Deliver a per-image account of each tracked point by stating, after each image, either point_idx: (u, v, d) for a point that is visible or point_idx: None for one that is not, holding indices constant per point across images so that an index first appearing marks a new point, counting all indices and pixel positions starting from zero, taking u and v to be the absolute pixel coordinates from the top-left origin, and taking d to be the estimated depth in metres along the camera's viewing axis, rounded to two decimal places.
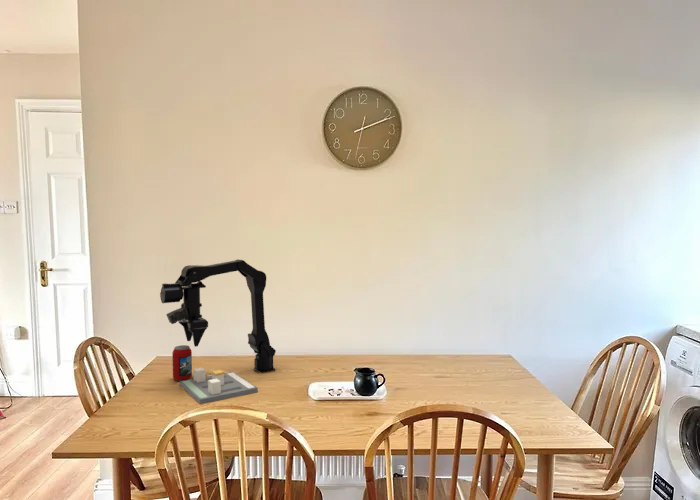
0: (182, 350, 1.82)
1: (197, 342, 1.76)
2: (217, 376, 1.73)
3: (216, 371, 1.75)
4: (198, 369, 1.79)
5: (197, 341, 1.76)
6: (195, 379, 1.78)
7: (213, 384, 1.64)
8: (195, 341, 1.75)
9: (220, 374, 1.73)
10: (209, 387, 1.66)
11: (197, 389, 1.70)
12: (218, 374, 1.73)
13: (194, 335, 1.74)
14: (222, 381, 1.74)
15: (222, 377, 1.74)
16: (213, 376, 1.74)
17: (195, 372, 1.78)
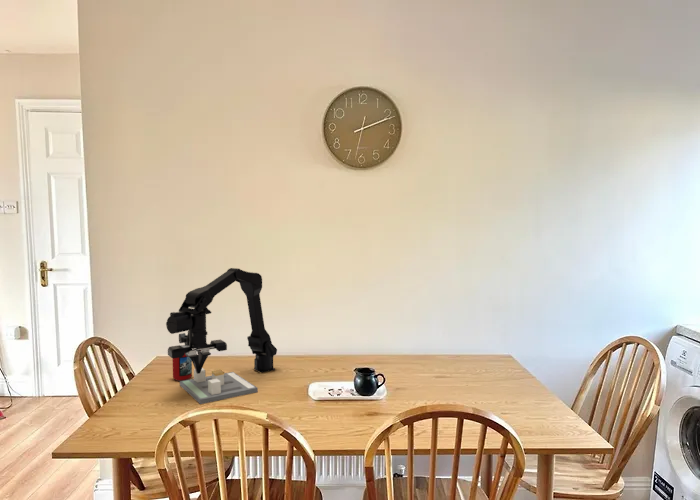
0: None
1: (196, 369, 1.70)
2: (217, 376, 1.73)
3: (216, 371, 1.75)
4: None
5: (196, 369, 1.70)
6: (195, 379, 1.78)
7: (213, 384, 1.64)
8: None
9: (220, 374, 1.73)
10: (209, 387, 1.66)
11: (197, 389, 1.70)
12: (218, 374, 1.73)
13: (192, 361, 1.70)
14: (222, 381, 1.74)
15: (222, 377, 1.74)
16: (213, 376, 1.74)
17: (195, 372, 1.78)
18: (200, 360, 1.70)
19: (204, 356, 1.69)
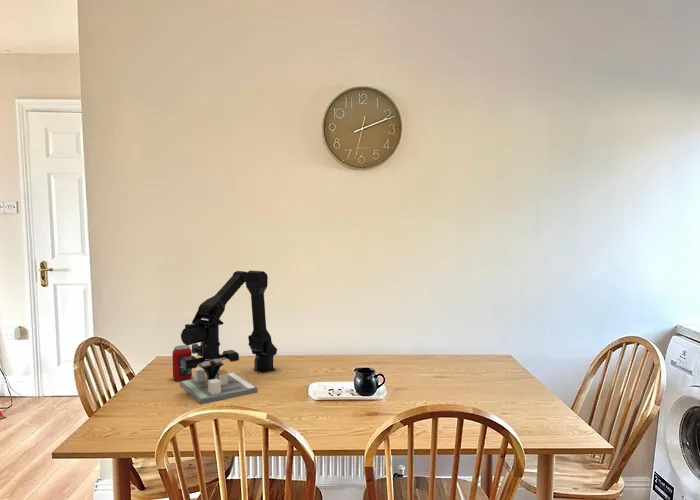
0: (182, 350, 1.82)
1: (209, 379, 1.73)
2: (221, 375, 1.74)
3: (220, 370, 1.75)
4: (198, 369, 1.79)
5: (209, 379, 1.73)
6: (195, 379, 1.78)
7: (213, 384, 1.64)
8: (207, 377, 1.73)
9: (224, 373, 1.74)
10: (209, 387, 1.66)
11: (197, 389, 1.70)
12: (222, 373, 1.74)
13: (205, 371, 1.73)
14: (226, 380, 1.75)
15: (226, 376, 1.75)
16: (217, 375, 1.75)
17: (195, 372, 1.78)
18: (213, 370, 1.73)
19: (217, 367, 1.72)
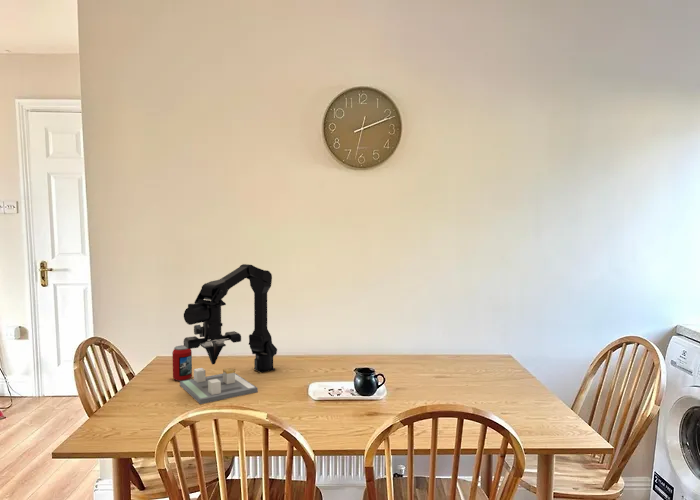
0: (182, 350, 1.82)
1: (211, 360, 1.73)
2: (228, 374, 1.75)
3: (227, 369, 1.77)
4: (198, 369, 1.79)
5: (211, 360, 1.72)
6: (195, 379, 1.78)
7: (213, 384, 1.64)
8: (210, 358, 1.73)
9: (231, 372, 1.76)
10: (209, 387, 1.66)
11: (197, 389, 1.70)
12: (229, 372, 1.75)
13: (207, 352, 1.73)
14: (233, 379, 1.76)
15: (233, 375, 1.76)
16: (224, 374, 1.76)
17: (195, 372, 1.78)
18: (215, 351, 1.72)
19: (219, 347, 1.72)
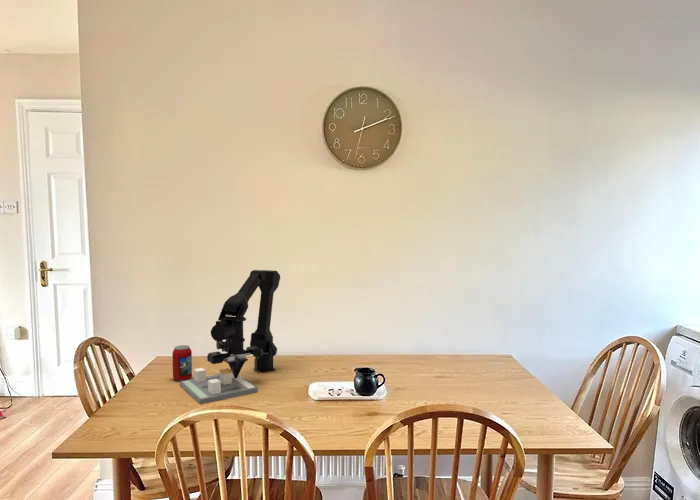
0: (182, 350, 1.82)
1: (233, 374, 1.78)
2: (225, 375, 1.74)
3: (224, 370, 1.76)
4: (198, 369, 1.79)
5: (233, 374, 1.78)
6: (195, 379, 1.78)
7: (213, 384, 1.64)
8: (232, 372, 1.78)
9: (228, 373, 1.75)
10: (209, 387, 1.66)
11: (197, 389, 1.70)
12: (226, 373, 1.75)
13: (230, 366, 1.78)
14: (230, 380, 1.76)
15: (230, 376, 1.75)
16: (221, 375, 1.76)
17: (195, 372, 1.78)
18: (237, 365, 1.78)
19: (241, 362, 1.77)
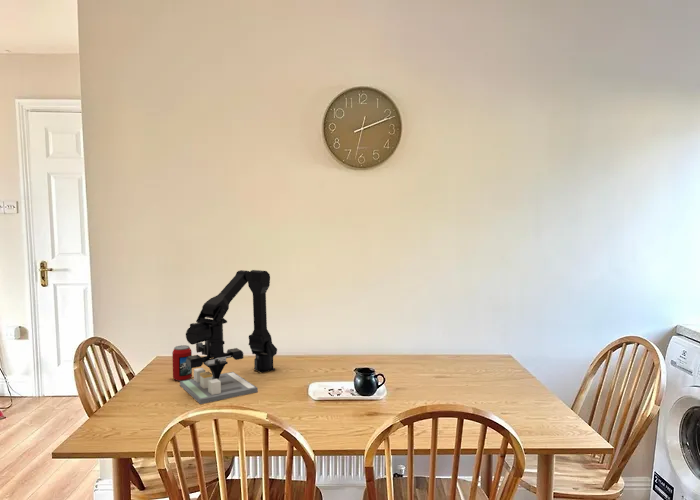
0: (182, 350, 1.82)
1: (214, 378, 1.74)
2: (205, 378, 1.70)
3: (204, 373, 1.72)
4: (198, 369, 1.79)
5: (214, 377, 1.74)
6: (195, 379, 1.78)
7: (213, 384, 1.64)
8: (213, 376, 1.74)
9: (208, 376, 1.71)
10: (209, 387, 1.66)
11: (197, 389, 1.70)
12: (206, 376, 1.71)
13: (210, 369, 1.74)
14: None
15: (210, 379, 1.71)
16: (201, 378, 1.72)
17: (195, 372, 1.78)
18: (217, 369, 1.73)
19: (221, 365, 1.72)
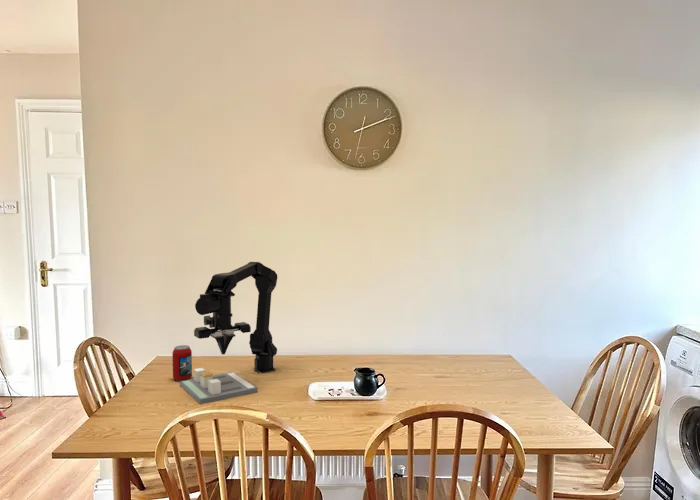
0: (182, 350, 1.82)
1: (221, 350, 1.75)
2: (205, 378, 1.70)
3: (205, 373, 1.72)
4: (198, 369, 1.79)
5: (221, 350, 1.74)
6: (195, 379, 1.78)
7: (213, 384, 1.64)
8: (220, 348, 1.75)
9: (209, 376, 1.71)
10: (209, 387, 1.66)
11: (197, 389, 1.70)
12: (206, 376, 1.71)
13: (217, 342, 1.75)
14: None
15: (211, 379, 1.72)
16: (201, 378, 1.72)
17: (195, 372, 1.78)
18: (225, 341, 1.74)
19: (229, 337, 1.74)
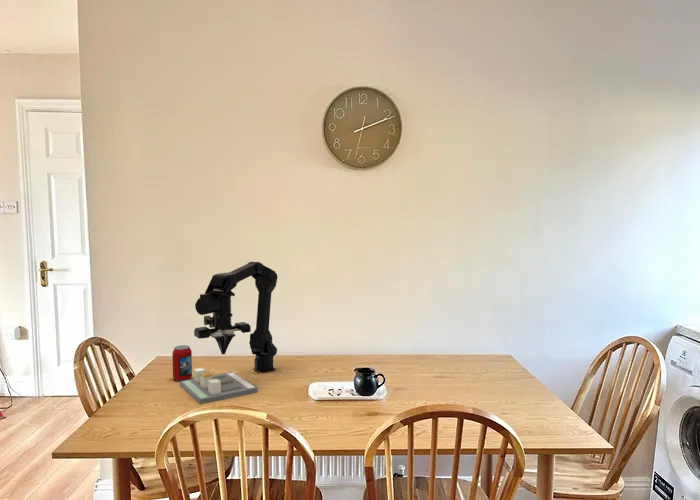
0: (182, 350, 1.82)
1: (221, 350, 1.75)
2: (205, 378, 1.70)
3: (205, 373, 1.72)
4: (198, 369, 1.79)
5: (221, 350, 1.74)
6: (195, 379, 1.78)
7: (213, 384, 1.64)
8: (220, 348, 1.75)
9: (209, 376, 1.71)
10: (209, 387, 1.66)
11: (197, 389, 1.70)
12: (206, 376, 1.71)
13: (217, 342, 1.75)
14: None
15: (211, 379, 1.72)
16: (201, 378, 1.72)
17: (195, 372, 1.78)
18: (225, 341, 1.74)
19: (229, 337, 1.74)
